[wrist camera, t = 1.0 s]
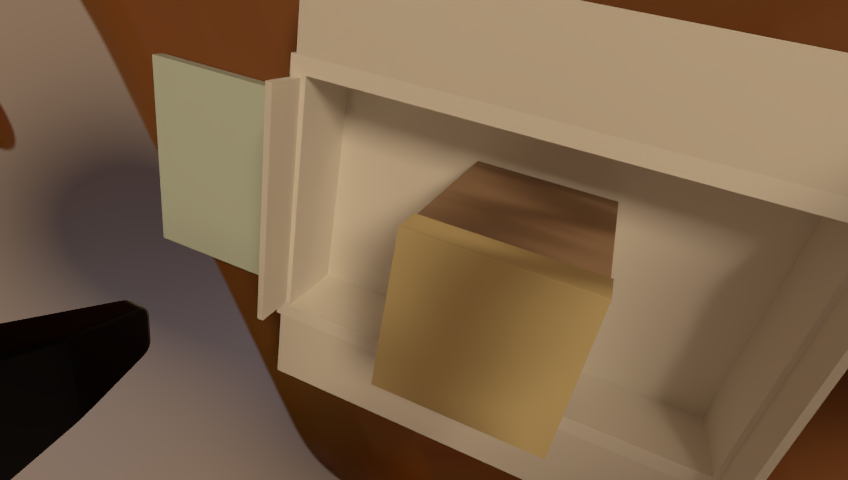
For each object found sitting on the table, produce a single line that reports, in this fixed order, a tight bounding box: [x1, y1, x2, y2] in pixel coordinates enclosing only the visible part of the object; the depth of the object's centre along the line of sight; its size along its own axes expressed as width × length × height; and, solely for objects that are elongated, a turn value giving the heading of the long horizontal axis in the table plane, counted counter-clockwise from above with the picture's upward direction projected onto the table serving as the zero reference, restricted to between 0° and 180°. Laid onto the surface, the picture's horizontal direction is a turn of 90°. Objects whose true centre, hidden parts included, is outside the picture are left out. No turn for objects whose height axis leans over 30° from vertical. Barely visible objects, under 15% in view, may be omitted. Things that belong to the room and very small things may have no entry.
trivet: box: [152, 53, 265, 275], centre depth 23 cm, size 9×9×1 cm
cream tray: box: [257, 0, 848, 480], centre depth 17 cm, size 17×16×5 cm
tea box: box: [371, 161, 619, 459], centre depth 16 cm, size 5×5×7 cm
